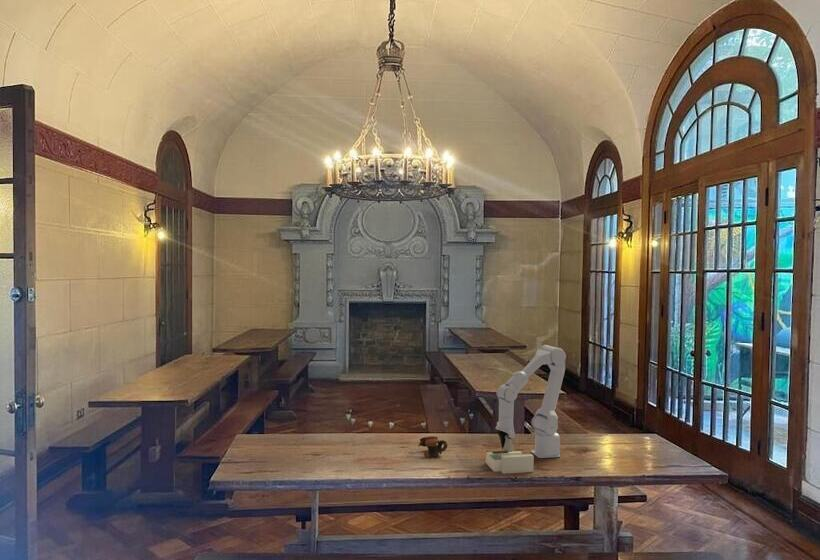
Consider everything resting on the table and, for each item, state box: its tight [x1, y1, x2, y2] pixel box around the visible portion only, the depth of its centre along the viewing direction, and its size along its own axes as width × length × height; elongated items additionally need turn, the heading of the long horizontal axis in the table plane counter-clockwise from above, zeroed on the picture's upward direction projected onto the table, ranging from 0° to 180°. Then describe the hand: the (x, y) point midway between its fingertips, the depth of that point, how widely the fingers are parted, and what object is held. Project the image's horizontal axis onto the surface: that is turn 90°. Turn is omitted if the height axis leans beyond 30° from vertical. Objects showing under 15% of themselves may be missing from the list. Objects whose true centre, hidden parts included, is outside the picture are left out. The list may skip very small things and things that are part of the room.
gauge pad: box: [493, 450, 523, 456], centre depth 221 cm, size 12×2×6 cm, turn 102°
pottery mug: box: [418, 435, 448, 458], centre depth 234 cm, size 12×9×8 cm
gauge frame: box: [485, 450, 535, 475], centre depth 220 cm, size 14×12×6 cm
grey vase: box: [499, 435, 515, 457], centre depth 225 cm, size 7×7×10 cm
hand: (505, 450), depth 228 cm, fingers closed, pressing on grey vase
